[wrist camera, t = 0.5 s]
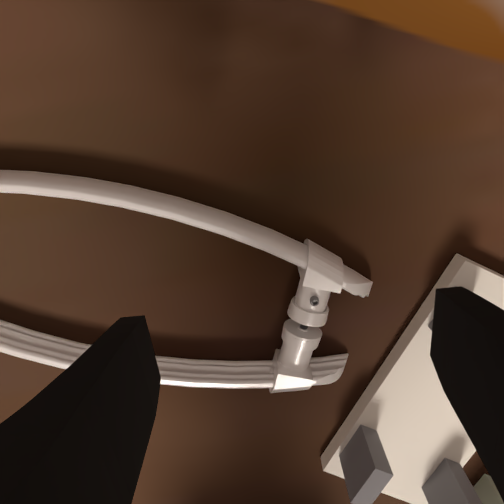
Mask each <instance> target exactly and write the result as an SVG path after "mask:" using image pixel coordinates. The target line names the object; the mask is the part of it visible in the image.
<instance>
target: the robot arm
mask: <svg viewBox="0 0 504 504" xmlns="http://www.w3.org/2000/svg"><path fill="white" fill-rule="evenodd" d="M430 357H431V359H432V362H433V365H434V367H435V370H436V373H437V375H438V378H439V380H440V383H441V385H442V388H443V390H444V392H445V394H446V396H447V398H448V400H449V402H450V404H451V406H452V407H453V409H454V411H455V413H456V415H457V417H458V418H459V420H460V422H461V424H462V426H463V427H464V429H465V431H466V433H467V435H468V436H469V438H470V440H471V442H472V444H473V445H474V447H475V449H476V451H477V453H478V454H479V456H480V458H481V460H482V462H483V463H484V465H485V467H486V469H487V471H488V472H489V474H490V476H491V478H492V480H493V482H494V484H495V486H496V488H497V490H498V492H499V494H500V496H501V498H502V500H503V503H504V310H503V309H501V308H500V307H498V306H496V305H494V304H493V303H491V302H489V301H488V300H486V299H484V298H482V297H481V296H479V295H477V294H475V293H474V292H472V291H470V290H468V289H466V288H464V287H462V286H459V287H449V288H438V289H436V293H435V304H434V315H433V326H432V337H431V348H430ZM160 382H161V376H160V372H159V368H158V365H157V361H156V357H155V353H154V349H153V346H152V342H151V338H150V334H149V330H148V327H147V323H146V319H145V315H144V316H133V317H122V318H120V319H119V320H118V321H116V322H115V323H114V324H113V325H112V326H111V327H110V328H109V329H108V330H107V331H106V332H105V333H104V334H103V335H102V336H100V337H99V338H98V339H97V340H96V341H95V342H94V343H93V344H92V345H91V346H90V347H89V348H88V349H87V350H86V351H85V352H84V353H83V354H82V355H81V356H80V357H79V358H78V359H77V360H76V361H74V362H73V363H72V364H71V365H70V366H69V367H68V368H67V369H66V370H65V371H64V372H63V373H61V374H60V375H59V376H58V377H57V378H56V379H55V380H53V381H52V382H51V383H50V384H49V385H48V386H47V387H45V388H44V389H43V390H42V391H41V392H40V393H39V394H37V395H36V396H35V397H34V398H33V399H32V400H30V401H29V402H28V403H27V404H26V405H24V406H23V407H22V408H21V409H19V410H18V411H17V412H15V413H14V414H13V415H12V416H10V417H9V418H8V419H6V420H5V421H4V422H2V423H1V424H0V504H131V503H132V499H133V496H134V492H135V489H136V485H137V482H138V478H139V474H140V471H141V467H142V464H143V460H144V457H145V453H146V449H147V446H148V442H149V439H150V435H151V431H152V427H153V424H154V420H155V416H156V410H157V404H158V397H159V389H160Z"/></svg>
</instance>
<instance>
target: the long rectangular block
mask: <svg viewBox="0 0 504 504" xmlns="http://www.w3.org/2000/svg"><path fill="white" fill-rule="evenodd" d="M473 488H474V489H475V491H476V493H477V495H478V496H479V498H480V500H481V502H482V504H504V503H503V500H502V498H501V496H500V494H499V492H498V490H497V488H496V486H495V484H494V482H493V480H492V478H491V476H489V475H487V474H484V475H483V476H482V477H481V478H480V480H479V481H478V482H477V483H476V484H475V486H474V487H473Z"/></svg>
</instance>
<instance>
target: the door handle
mask: <svg viewBox="0 0 504 504" xmlns="http://www.w3.org/2000/svg"><path fill="white" fill-rule="evenodd" d="M0 193H20V194H31V195H40V196H49V197H58V198H67V199H76V200H82V201H87V202H93V203H99V204H104V205H110V206H116V207H121V208H126V209H130V210H134V211H138V212H142V213H146V214H151V215H155V216H159V217H163V218H167V219H171V220H175V221H178V222H181V223H184V224H188V225H191V226H194V227H198V228H201V229H204V230H207V231H211V232H214V233H217V234H220V235H223V236H226V237H228V238H231V239H234V240H236V241H239V242H242V243H244V244H247V245H250V246H252V247H255V248H258V249H260V250H263V251H266V252H268V253H270V254H272V255H274V256H277V257H279V258H281V259H283V260H286V261H288V262H290V263H292V264H294V265H297V266H298V271H299V275H300V281H299V285H298V289H297V292H296V296H294V297H293V298H292V299H291V302H290V304H289V307H288V311H287V314H288V316H289V317H290V318H291V319H288V320H286V321H285V322H284V325H283V330H282V335H281V337H282V340H283V343H282V347H281V350H280V349H276V350H275V353H274V356H273V360H259V361H225V360H198V359H186V358H175V357H165V356H155V357H156V361H157V365H158V368H159V372H160V376H161V382H160V384H161V385H172V386H183V387H199V388H226V389H254V388H269V392H270V393H277V392H288V391H299V390H308V389H310V388H311V386H314V385H326V384H331V383H333V382H335V381H337V380H338V379H339V378H340V376H341V375H342V373H343V370H344V368H345V364H346V361H347V358H348V355H349V354H348V353H345V354H338V355H330V356H323V357H313V358H311V356H312V352H313V350H315V349H316V348H317V347H318V345H319V342H320V340H321V337H322V331H321V329H320V328H319V327H321V326H324V325H325V324H326V321H327V317H328V312H329V308H328V306H327V303H328V300H329V296H330V293H331V292H335V293H340V292H341V289H344V290H346V291H348V292H349V293H351V294H353V295H359V296H361V297H362V298H364V297H365V296H367V297H368V295H369V293H370V290H371V287H372V284H373V282H372V281H370V280H369V279H367V278H366V277H364V276H362V275H361V274H359V273H358V272H356V271H354V270H353V269H351V268H349V267H347V266H345V265H343V261H342V259H341V257H339V256H337V255H335V254H334V253H332V252H330V251H328V250H327V249H325V248H323V247H321V246H320V245H318V244H316V243H314V242H313V241H311V240H309V239H305V240H304V244H303V243H301V242H299V241H296V240H294V239H292V238H290V237H288V236H286V235H283V234H281V233H279V232H277V231H275V230H273V229H270V228H267V227H265V226H262V225H260V224H257V223H254V222H252V221H249V220H247V219H244V218H241V217H239V216H236V215H234V214H231V213H228V212H226V211H222V210H219V209H216V208H213V207H210V206H206V205H203V204H200V203H197V202H194V201H190V200H187V199H184V198H181V197H177V196H173V195H169V194H165V193H161V192H157V191H152V190H148V189H144V188H140V187H136V186H132V185H127V184H121V183H116V182H110V181H105V180H99V179H93V178H88V177H80V176H72V175H63V174H54V173H45V172H37V171H19V170H0ZM90 346H91V345H90V344H85V343H80V342H75V341H72V340H68V339H64V338H60V337H57V336H53V335H49V334H45V333H42V332H38V331H34V330H31V329H28V328H25V327H22V326H19V325H16V324H12V323H9V322H6V321H3V320H0V352H3V353H6V354H9V355H12V356H15V357H19V358H23V359H27V360H31V361H35V362H38V363H42V364H46V365H50V366H54V367H58V368H62V369H67V368H68V367H69V366H70V365H71V364H72V363H73V362H74V361H76V360H77V359H78V358H79V357H80V356H81V355H82V354H83V353H84V352H85V351H86V350H87V349H88V348H89V347H90Z"/></svg>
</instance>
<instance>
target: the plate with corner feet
mask: <svg viewBox="0 0 504 504" xmlns="http://www.w3.org/2000/svg"><path fill="white" fill-rule="evenodd" d="M459 286H462V287H464V288H466V289H468V290H470V291H472V292H474V293H475V294H477V295H479V296H481V297H482V298H484V299H486V300H488V301H489V302H491V303H493V304H494V305H496V306H498V307H500V308H501V309H503V310H504V276H503V275H501V274H499V273H497V272H495V271H493V270H491V269H489V268H487V267H485V266H482V265H480V264H478V263H476V262H474V261H472V260H470V259H468V258H466V257H464V256H462V255H460V254H457V253H456V254H455V256H454V257H453V259H452V260H451V262H450V263H449V265H448V266H447V268H446V269H445V271H444V272H443V274H442V275H441V277H440V278H439V280H438V281H437V283H436V284H435V286H434V287H433V289H432V290H431V292H430V293H429V295H428V296H427V298H426V299H425V301H424V302H423V304H422V305H421V307H420V308H419V310H418V311H417V313H416V314H415V316H414V317H413V319H412V320H411V322H410V323H409V325H408V326H407V328H406V329H405V331H404V332H403V334H402V335H401V337H400V338H399V340H398V341H397V343H396V344H395V346H394V347H393V349H392V350H391V352H390V353H389V355H388V356H387V358H386V359H385V361H384V362H383V364H382V365H381V367H380V368H379V370H378V371H377V373H376V374H375V376H374V377H373V379H372V380H371V382H370V383H369V385H368V386H367V388H366V389H365V391H364V392H363V394H362V395H361V397H360V398H359V400H358V401H357V403H356V404H355V406H354V407H353V409H352V410H351V412H350V413H349V415H348V416H347V418H346V419H345V421H344V422H343V424H342V425H341V427H340V428H339V430H338V431H337V433H336V434H335V436H334V437H333V439H332V440H331V442H330V443H329V445H328V446H327V448H326V449H325V451H324V452H323V454H322V455H321V457H320V458H321V463H322V468H323V471H325V472H328V473H330V474H333V475H336V476H339V477H341V478H344V479H345V482H346V486H347V491H348V495H349V499H350V503H352V504H372V503H373V502H374V501H375V499H376V498H377V497H378V495H379V494H380V493H384V494H387V495H389V496H392V497H395V498H397V499H400V500H403V501H406V502H408V503H411V504H482V502H481V500H480V498H479V496H478V495H477V493H476V491H475V489H474V488H473V486H472V484H471V482H470V481H469V479H468V477H467V475H466V474H465V472H464V470H463V466H464V465H465V464H466V463H467V461H468V460H469V459H470V458H471V456H472V455H473V454H474V453H475V451H476V449H475V447H474V445H473V444H472V442H471V440H470V438H469V436H468V435H467V433H466V431H465V429H464V427H463V426H462V424H461V422H460V420H459V418H458V417H457V415H456V413H455V411H454V409H453V407H452V406H451V404H450V402H449V400H448V398H447V396H446V394H445V392H444V390H443V388H442V385H441V383H440V380H439V378H438V375H437V373H436V370H435V367H434V365H433V362H432V359H431V357H430V348H431V337H432V326H433V315H434V304H435V293H436V289H438V288H449V287H459Z"/></svg>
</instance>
